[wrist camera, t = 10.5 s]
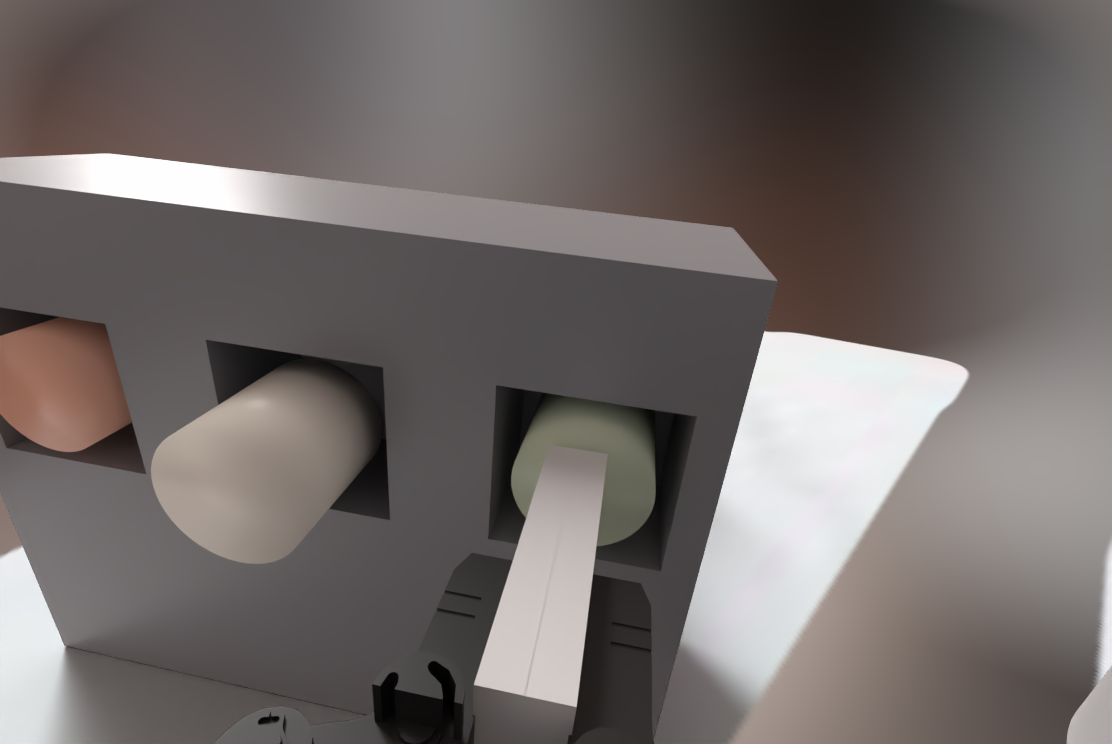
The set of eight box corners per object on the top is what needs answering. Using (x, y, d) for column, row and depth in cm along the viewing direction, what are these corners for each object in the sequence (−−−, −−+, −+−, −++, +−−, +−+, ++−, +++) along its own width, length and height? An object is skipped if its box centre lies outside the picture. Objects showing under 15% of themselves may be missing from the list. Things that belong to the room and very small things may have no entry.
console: (644, 617, 25) (732, 227, 18) (642, 778, 19) (777, 281, 11) (197, 528, 28) (108, 153, 20) (64, 645, 21) (-138, 163, 14)
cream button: (384, 480, 17) (379, 369, 15) (311, 576, 13) (294, 444, 12) (271, 459, 17) (254, 349, 16) (170, 547, 14) (133, 415, 12)
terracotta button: (211, 401, 20) (191, 303, 18) (114, 461, 16) (79, 345, 15) (119, 386, 20) (92, 288, 19) (5, 440, 17) (-41, 326, 15)
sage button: (644, 473, 18) (664, 372, 17) (642, 557, 15) (667, 439, 13) (534, 455, 19) (544, 355, 17) (507, 532, 15) (515, 414, 14)
